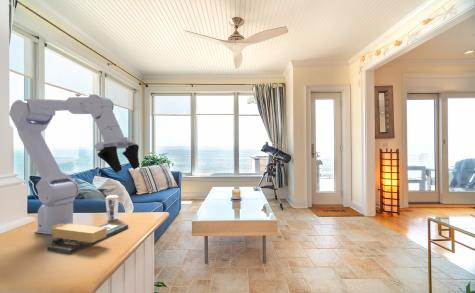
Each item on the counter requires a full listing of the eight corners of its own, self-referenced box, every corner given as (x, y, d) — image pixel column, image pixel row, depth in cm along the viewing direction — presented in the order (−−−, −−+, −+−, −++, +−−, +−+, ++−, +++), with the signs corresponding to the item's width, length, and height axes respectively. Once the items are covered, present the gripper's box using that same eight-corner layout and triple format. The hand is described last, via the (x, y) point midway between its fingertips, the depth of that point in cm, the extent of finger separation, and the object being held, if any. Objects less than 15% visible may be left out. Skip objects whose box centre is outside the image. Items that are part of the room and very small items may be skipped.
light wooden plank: (46, 236, 65) (46, 227, 65) (61, 230, 69) (61, 222, 69) (92, 242, 60) (92, 233, 60) (106, 236, 65) (106, 227, 65)
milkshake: (115, 221, 84) (115, 194, 84) (102, 221, 85) (102, 193, 86) (123, 218, 89) (123, 192, 89) (111, 217, 90) (111, 191, 90)
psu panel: (47, 250, 61) (47, 245, 61) (108, 225, 80) (108, 221, 80) (70, 253, 59) (70, 248, 59) (128, 227, 78) (128, 223, 78)
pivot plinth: (50, 242, 66) (50, 236, 66) (59, 239, 68) (59, 233, 68) (56, 243, 65) (56, 237, 65) (65, 240, 68) (65, 234, 68)
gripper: (100, 123, 65) (119, 167, 64) (136, 125, 79) (152, 161, 78) (82, 134, 67) (101, 177, 66) (121, 135, 81) (136, 170, 80)
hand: (128, 169), depth 72 cm, fingers open, 7 cm apart
